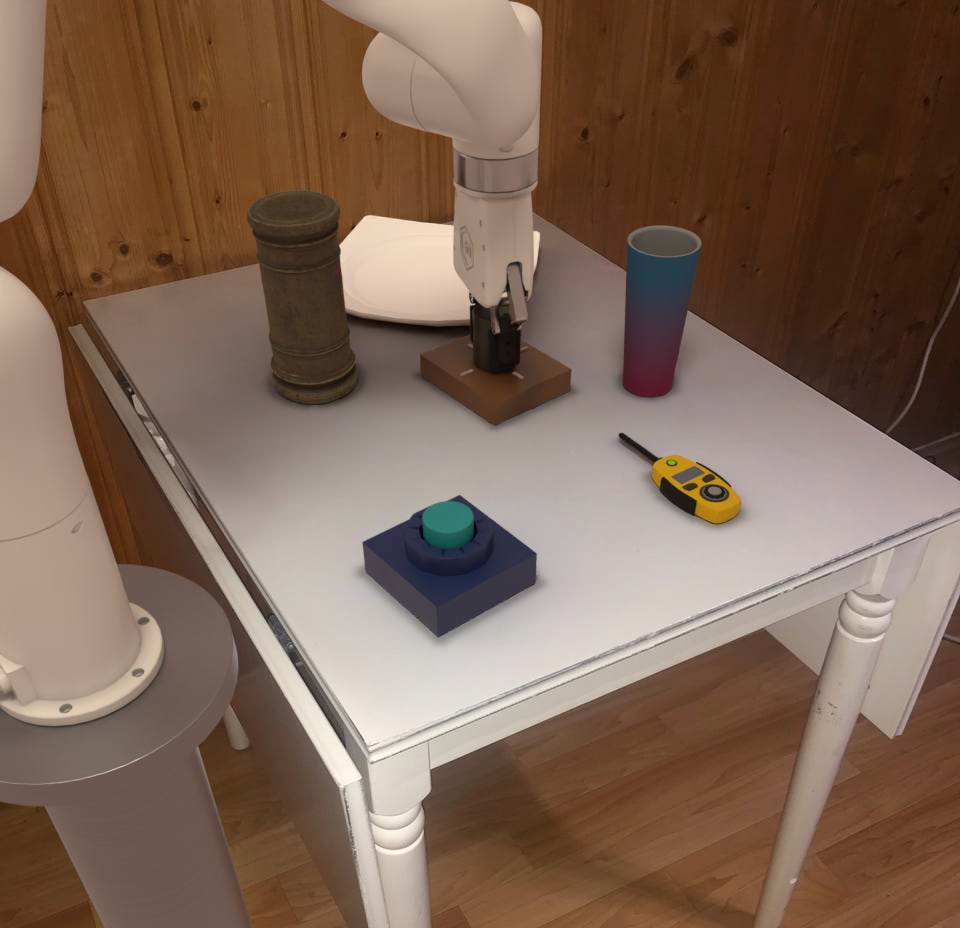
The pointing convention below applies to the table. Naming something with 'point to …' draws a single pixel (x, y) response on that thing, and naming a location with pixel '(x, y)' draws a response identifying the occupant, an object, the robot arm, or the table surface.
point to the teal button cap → (448, 525)
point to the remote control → (692, 486)
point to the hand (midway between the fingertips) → (494, 351)
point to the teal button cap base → (449, 570)
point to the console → (495, 380)
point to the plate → (405, 273)
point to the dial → (483, 337)
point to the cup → (656, 305)
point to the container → (304, 295)
